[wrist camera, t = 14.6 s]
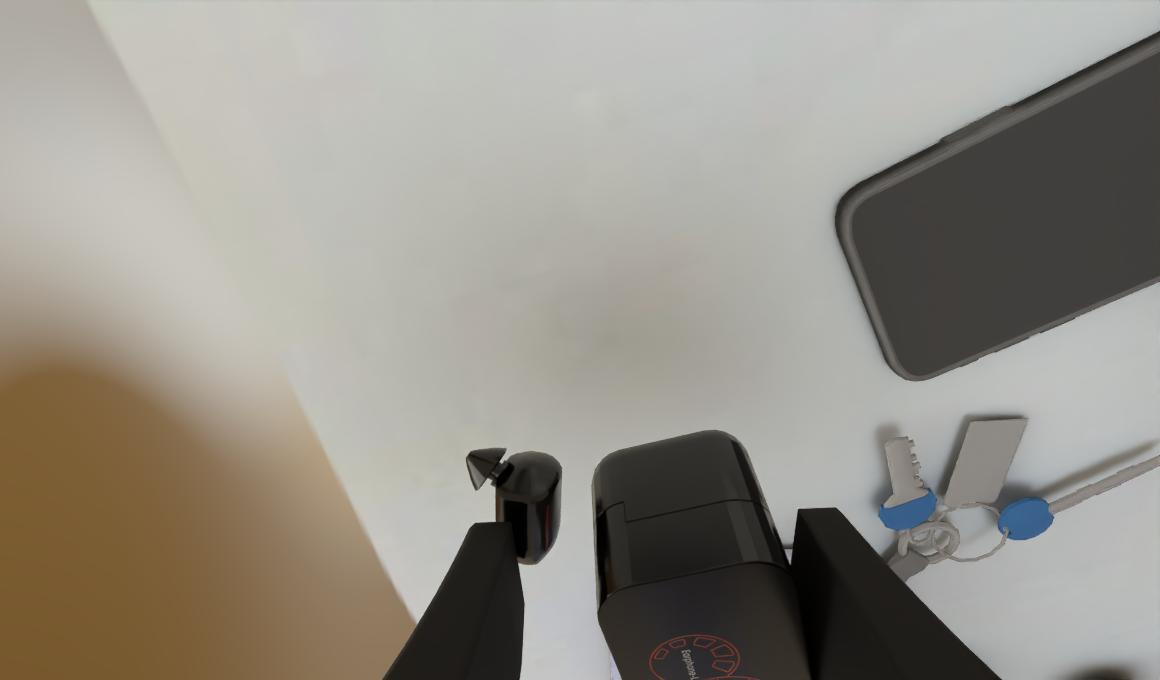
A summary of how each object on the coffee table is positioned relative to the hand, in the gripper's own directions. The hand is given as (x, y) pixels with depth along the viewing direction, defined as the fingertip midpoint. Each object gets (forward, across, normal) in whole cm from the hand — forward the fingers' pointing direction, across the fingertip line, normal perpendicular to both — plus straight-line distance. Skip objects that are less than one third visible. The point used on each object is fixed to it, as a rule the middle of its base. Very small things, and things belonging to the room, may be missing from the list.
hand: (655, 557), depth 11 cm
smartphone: (+11, -14, -3) cm, 18 cm away
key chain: (+10, -11, +9) cm, 18 cm away
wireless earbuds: (+2, 0, +1) cm, 2 cm away
